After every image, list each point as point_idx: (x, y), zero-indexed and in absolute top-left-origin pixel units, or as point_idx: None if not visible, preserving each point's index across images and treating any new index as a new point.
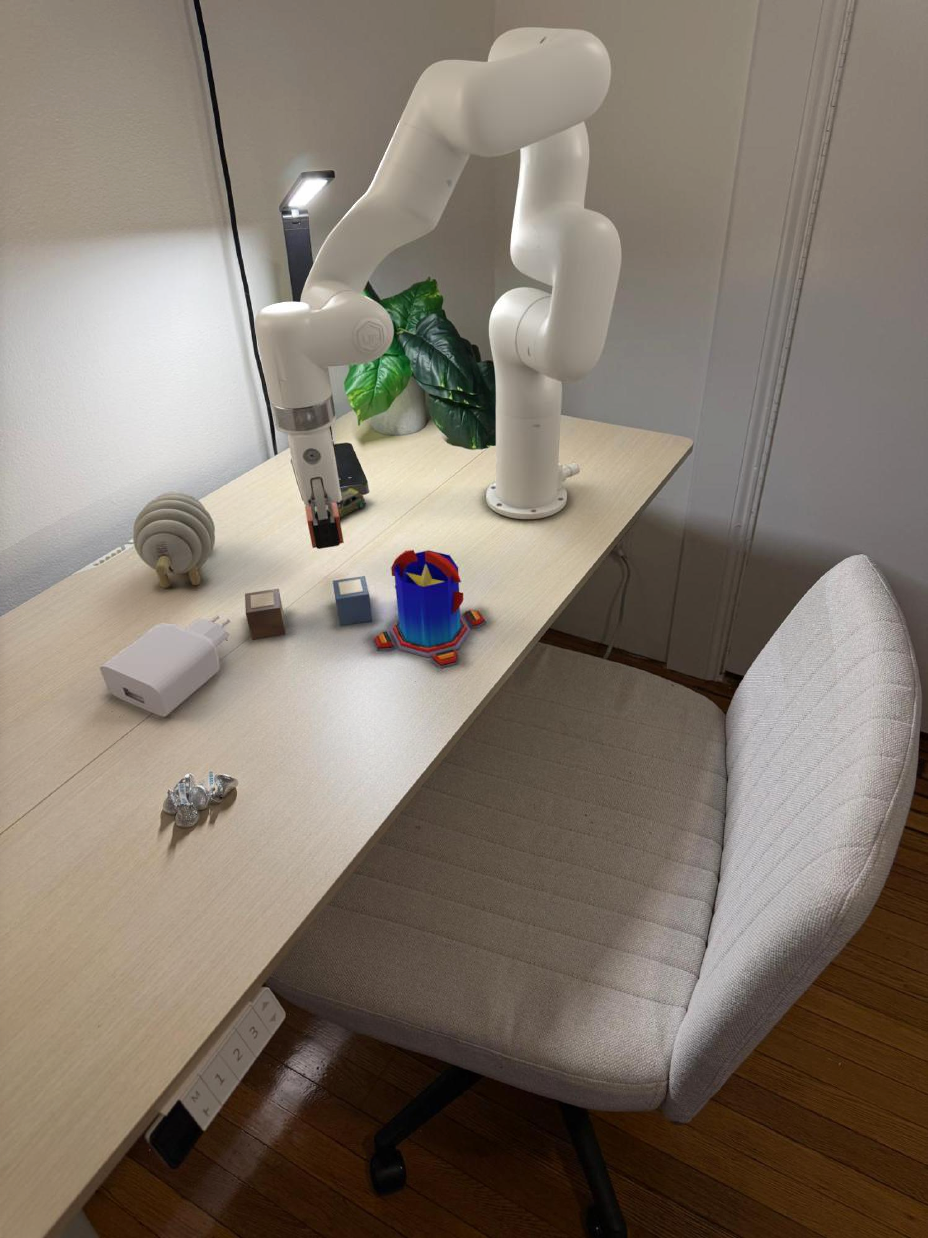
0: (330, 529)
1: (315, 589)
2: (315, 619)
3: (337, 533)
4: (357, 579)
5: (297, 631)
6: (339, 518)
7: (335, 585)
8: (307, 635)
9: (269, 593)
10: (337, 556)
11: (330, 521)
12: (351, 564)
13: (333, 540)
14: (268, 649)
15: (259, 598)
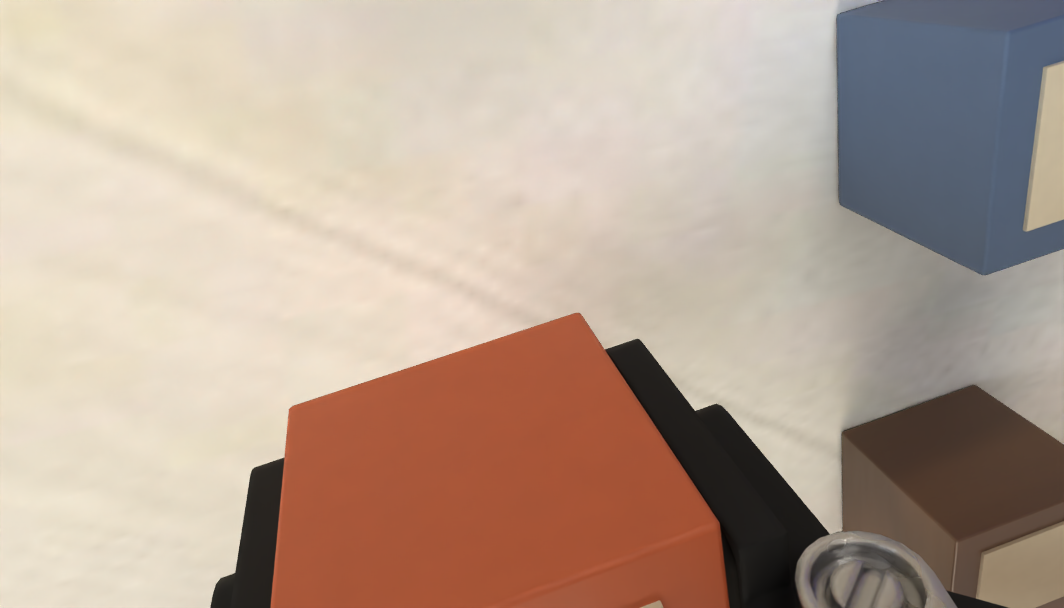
0: (801, 509)
1: (660, 351)
2: (909, 287)
3: (691, 412)
4: (1048, 89)
5: (969, 342)
6: (702, 499)
7: (1047, 243)
8: (1010, 292)
9: (990, 565)
10: (298, 313)
11: (781, 573)
12: (394, 199)
13: (726, 411)
14: (1038, 416)
15: (1014, 589)
